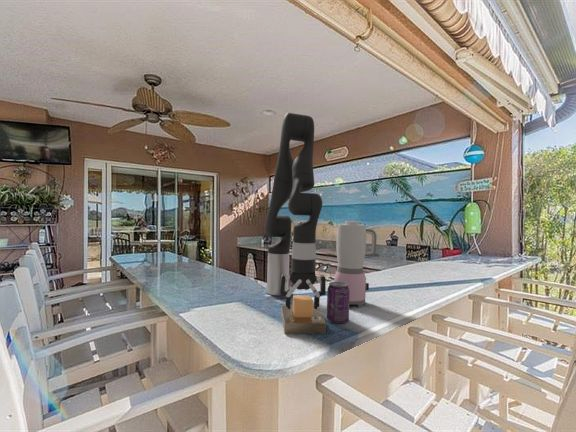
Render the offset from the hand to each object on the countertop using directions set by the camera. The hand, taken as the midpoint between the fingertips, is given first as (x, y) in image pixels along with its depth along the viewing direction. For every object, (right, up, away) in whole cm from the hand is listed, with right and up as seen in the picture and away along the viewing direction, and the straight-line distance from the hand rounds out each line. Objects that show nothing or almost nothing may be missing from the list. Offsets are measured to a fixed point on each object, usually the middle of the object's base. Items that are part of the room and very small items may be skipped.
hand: (302, 308), depth 94 cm
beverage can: (+12, -5, +3) cm, 13 cm away
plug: (0, -4, 0) cm, 4 cm away
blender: (+21, -5, +23) cm, 32 cm away
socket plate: (0, -5, 0) cm, 5 cm away
